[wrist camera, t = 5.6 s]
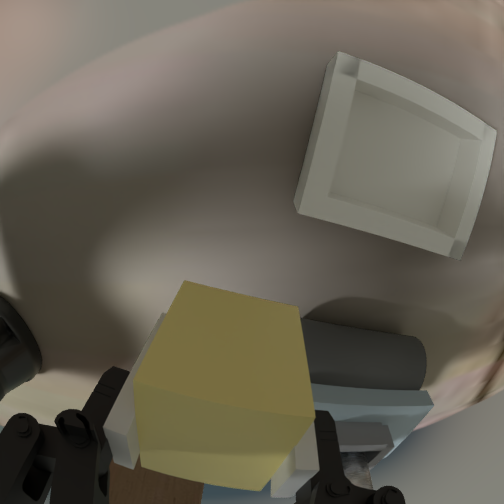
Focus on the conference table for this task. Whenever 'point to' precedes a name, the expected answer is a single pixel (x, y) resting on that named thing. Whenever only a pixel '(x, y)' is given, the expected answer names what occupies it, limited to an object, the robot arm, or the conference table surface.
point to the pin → (357, 469)
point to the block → (150, 487)
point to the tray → (394, 159)
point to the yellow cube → (223, 389)
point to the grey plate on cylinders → (367, 385)
